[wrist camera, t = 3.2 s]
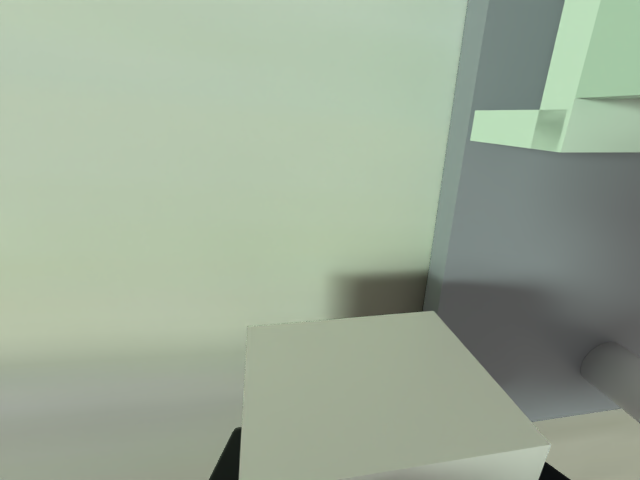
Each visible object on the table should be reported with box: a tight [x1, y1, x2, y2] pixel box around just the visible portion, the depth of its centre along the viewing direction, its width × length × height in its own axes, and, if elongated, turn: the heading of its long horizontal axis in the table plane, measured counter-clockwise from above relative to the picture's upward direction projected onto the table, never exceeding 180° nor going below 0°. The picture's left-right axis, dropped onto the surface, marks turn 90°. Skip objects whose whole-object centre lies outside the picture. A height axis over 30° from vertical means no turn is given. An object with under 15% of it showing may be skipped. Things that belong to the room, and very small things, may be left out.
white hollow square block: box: [239, 311, 551, 480], centre depth 8 cm, size 5×5×4 cm
